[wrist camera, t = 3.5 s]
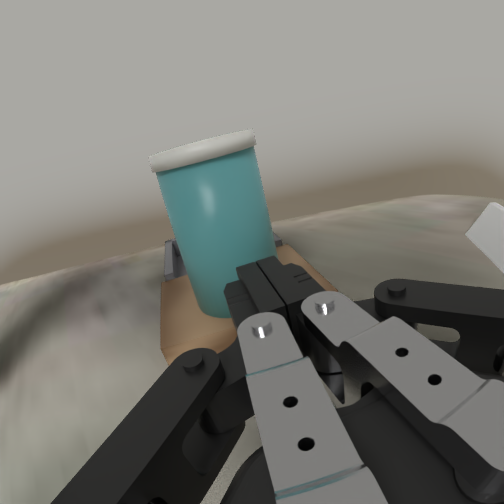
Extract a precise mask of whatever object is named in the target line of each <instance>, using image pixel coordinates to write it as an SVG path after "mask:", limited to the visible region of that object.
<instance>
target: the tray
mask: <svg viewBox="0 0 504 504" xmlns="http://www.w3.org/2000/svg"><path fill="white" fill-rule="evenodd" d="M273 236H274V241H275V245H276V247H278V246H282V241H281V239H280V238H279V237H278V236H277V235H276V234H275V233H274V232H273ZM164 275H165V278H166V281H168V280H172V279H175V278H178V277H181V276H185V275H188V274H187V271H186V268H185V265H184V262H183V259H182V256H181V253H180V250H179V247H178V244H177V241H176V238H175V239H171V240H168V241H166V242H165V270H164Z"/></svg>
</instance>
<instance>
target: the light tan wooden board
mask: <svg viewBox="0 0 504 504" xmlns="http://www.w3.org/2000/svg"><path fill="white" fill-rule="evenodd" d="M276 250H277V255H278V260H279V261H280V262H281V263H282V264H283V265H286V264H289V263H293V264H296V265H299V266H302V267H303V268H304V269H305V270H306V271H307V273H309V274H310V275H311V276H312V278H314V279H315V280H316V281H317V282H318V283H319V284H320V285H321V286H322V287H323V288H324V289H325V290H326V291H335V292H338V290H337V289H336V288H335V287H334V286H332V285H331V284H330V283H329V282H328V281H327V280H326V279H325V278H324V277H323V276H322V275H321V274H320V273H319V272H317V271H316V270H315V269H314V268H313V267H312V266H311V265H310V264H309V263H308V262H307V261H306V260H305V259H303V258H302V257H301V256H300V255H299V254H298V253H297V252H296V251H295V250H294V249H293V248H291V247H290V246H289V245H288V244H285V245H282V246H278V247H276ZM236 337H237V332H236V329H235V327H234V324H233V321H232V318H216V317H212V316H209V315H206V314H205V313H203V312H202V311H201V310H200V308H199V306H198V303H197V300H196V297H195V294H194V292H193V289H192V286H191V283H190V280H189V277H188V275H185V276H181V277H178V278H175V279H172V280H168V281H165V282H162V283H161V350H162V353H163V355H164V357H165V359H166V361H167V363H168V365H170V364H171V363H172V362H173V361H174V360H175V359H176V358H177V357H178V356H179V355H181V354H182V353H184V352H186V351H188V350H191V349H195V348H209V349H212V350H214V351H215V352H216V353H217V354H218V353H220V352H221V351H223V350H225V349H226V348H228V347H229V346H230V345H231V344H232V343H233V342H234V341H235V339H236Z"/></svg>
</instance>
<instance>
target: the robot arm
mask: <svg viewBox="0 0 504 504" xmlns="http://www.w3.org/2000/svg"><path fill="white" fill-rule="evenodd" d="M236 272H237V276H238V279H239V280H237V281H234V282H230V283H227V284H226V286H225V289H224V291H223V292H224V295H225V299H226V302H227V305H228V308H229V311H230V314H231V318H232V321H233V324H234V327H235V329H236V332H237V337H236V339H235V341H234V342H233V343H232V344H231V345H230V346H229V347H228V348H226V349H225V350H223V351H221V352H220V353H218V354H217V353H216V352H215V351H214V350H212V349H209V348H195V349H191V350H188V351H186V352H184V353H182V354H181V355H179V356H178V357H177V358H176V359H175V360H174V361H173V362H172V363H171V364H170V365H169V367H168V368H167V369H166V370H165V371H164V372H163V374H162V375H161V376H160V377H159V378H158V380H157V381H156V382H155V383H154V384H153V385H152V387H151V388H150V389H149V390H148V391H147V392H146V394H145V395H144V396H143V397H142V398H141V400H140V401H139V402H138V403H137V404H136V405H135V407H134V408H133V409H132V410H131V411H130V412H129V414H128V415H127V416H126V417H125V418H124V419H123V421H122V422H121V423H120V424H119V425H118V426H117V428H116V429H115V430H114V431H113V432H112V433H111V435H110V436H109V437H108V438H107V439H106V440H105V442H104V443H103V444H102V445H101V446H100V447H99V448H98V450H97V451H96V452H95V453H94V454H93V455H92V457H91V458H90V459H89V460H88V461H87V462H86V464H85V465H84V466H83V467H82V468H81V469H80V470H79V472H78V473H77V474H76V475H75V476H74V477H73V478H72V480H71V481H70V482H69V483H68V484H67V485H66V487H65V488H64V489H63V490H62V491H61V492H60V493H59V495H58V496H57V497H56V498H55V499H54V500H53V501H52V502H51V504H200V503H201V501H202V500H203V498H204V497H205V495H206V493H207V492H208V490H209V489H210V487H211V485H212V484H213V482H214V480H215V479H216V477H217V475H218V474H219V472H220V470H221V469H222V467H223V465H224V464H225V462H226V460H227V459H228V457H229V455H230V453H231V452H232V450H233V448H234V446H235V445H236V443H237V441H238V439H239V438H240V436H241V434H242V432H243V430H244V428H245V420H247V419H249V418H250V417H252V416H253V415H255V417H256V422H257V426H258V430H259V434H260V437H261V441H262V445H263V446H262V447H260V448H259V449H257V450H256V451H255V452H254V453H253V454H252V455H251V456H250V457H249V458H248V459H247V460H246V461H245V462H244V463H243V464H242V466H241V467H240V468H239V470H238V471H237V473H236V474H235V476H234V478H233V480H232V482H231V484H230V486H229V487H228V489H227V491H226V493H225V495H224V497H223V499H222V501H221V503H220V504H504V290H501V289H491V288H482V287H472V286H463V285H453V284H444V283H434V282H425V281H416V280H407V279H391V280H387V281H384V282H382V283H380V284H379V285H378V286H377V287H376V288H375V290H374V298H373V299H367V300H362V301H355V302H353V301H351V300H350V299H349V298H347V297H346V296H345V295H343V294H342V293H339V292H335V291H326V290H325V289H324V288H323V287H322V286H321V285H320V284H319V283H318V282H317V281H316V280H315V279H314V278H312V276H311V275H310V274H309V273H307V271H306V270H305V269H304V268H303V267H302V266H299V265H296V264H293V263H289V264H286V265H283V264H282V263H281V262H280V261H279V260H278V259H277V258H276V257H275V256H274V255H273V256H270V257H267V258H264V259H260V260H257V261H255V262H251V263H248V264H245V265H242V266H239V267H236ZM417 323H421V324H428V325H435V326H442V327H449V328H453V329H455V330H457V331H458V332H459V334H460V339H459V340H458V341H456V342H444V341H437V340H431V339H427V338H426V337H424V336H423V335H422V334H420V333H419V332H417ZM332 402H333V403H334V405H335V406H336V407H337V408H336V409H335V407H334V405H333V403H332Z"/></svg>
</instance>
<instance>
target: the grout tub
mask: <svg viewBox="0 0 504 504" xmlns="http://www.w3.org/2000/svg"><path fill="white" fill-rule="evenodd" d="M254 145H256V141H255V136H254V132H253V129H247V130H242V131H237V132H232V133H228V134H224V135H219V136H215V137H211V138H207V139H204V140H200V141H196V142H192V143H189V144H186V145H182V146H178V147H175V148H172V149H169V150H166V151H162V152H160V153H156V154H154V155H151V156H149V157H148V158H149V162H150V165H151V169H152V172H156V175H157V179H158V182H159V185H160V189H161V192H162V195H163V199H164V202H165V206H166V209H167V212H168V216H169V219H170V222H171V225H172V228H173V231H174V235H175V238H176V241H177V244H178V247H179V250H180V253H181V256H182V259H183V262H184V265H185V268H186V271H187V274H188V277H189V280H190V283H191V286H192V289H193V292H194V294H195V297H196V300H197V303H198V306H199V308H200V310H201V311H202V312H203V313H205V314H206V315H209V316H212V317H216V318H231V314H230V311H229V308H228V305H227V302H226V299H225V295H224V292H223V291H224V289H225V286H226V284H227V283H230V282H234V281H237V280H239V279H238V276H237V272H236V267H239V266H242V265H245V264H248V263H251V262H255V261H257V260H260V259H264V258H267V257H270V256H273V255H274V256H275V257H276V258H277V259H278V255H277V250H276V245H275V241H274V236H273V231H272V227H271V222H270V218H269V214H268V208H267V204H266V199H265V195H264V190H263V186H262V181H261V177H260V172H259V168H258V164H257V159H256V155H255V151H254Z"/></svg>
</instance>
